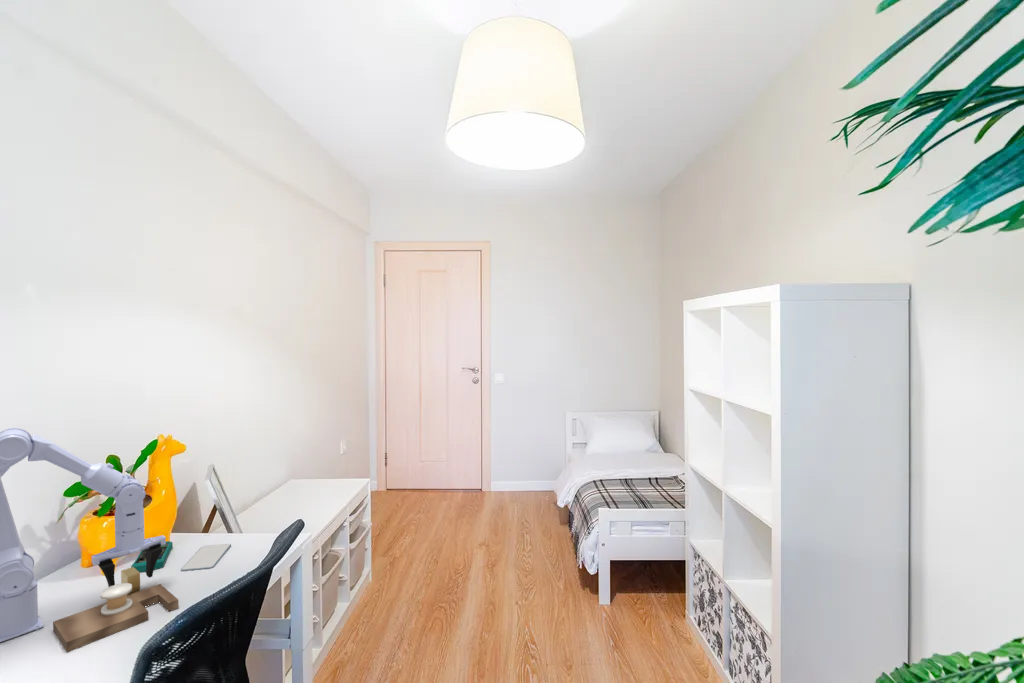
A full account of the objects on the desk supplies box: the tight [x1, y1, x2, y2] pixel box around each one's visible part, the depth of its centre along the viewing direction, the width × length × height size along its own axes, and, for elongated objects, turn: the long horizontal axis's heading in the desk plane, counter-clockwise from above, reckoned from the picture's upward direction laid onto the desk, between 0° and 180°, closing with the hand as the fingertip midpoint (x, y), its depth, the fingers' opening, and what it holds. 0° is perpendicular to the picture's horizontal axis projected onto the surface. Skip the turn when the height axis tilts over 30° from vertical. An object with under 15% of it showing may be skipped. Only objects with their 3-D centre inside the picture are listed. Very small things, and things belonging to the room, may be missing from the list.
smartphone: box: [180, 543, 232, 572], centre depth 142 cm, size 8×1×15 cm
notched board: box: [52, 583, 180, 652], centre depth 112 cm, size 20×12×2 cm, turn 143°
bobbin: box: [100, 583, 132, 616], centre depth 112 cm, size 6×6×4 cm
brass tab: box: [120, 566, 141, 595], centre depth 121 cm, size 2×5×6 cm, turn 53°
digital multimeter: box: [130, 540, 174, 573], centre depth 140 cm, size 7×15×3 cm, turn 26°
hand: (131, 582), depth 122 cm, fingers open, 7 cm apart
